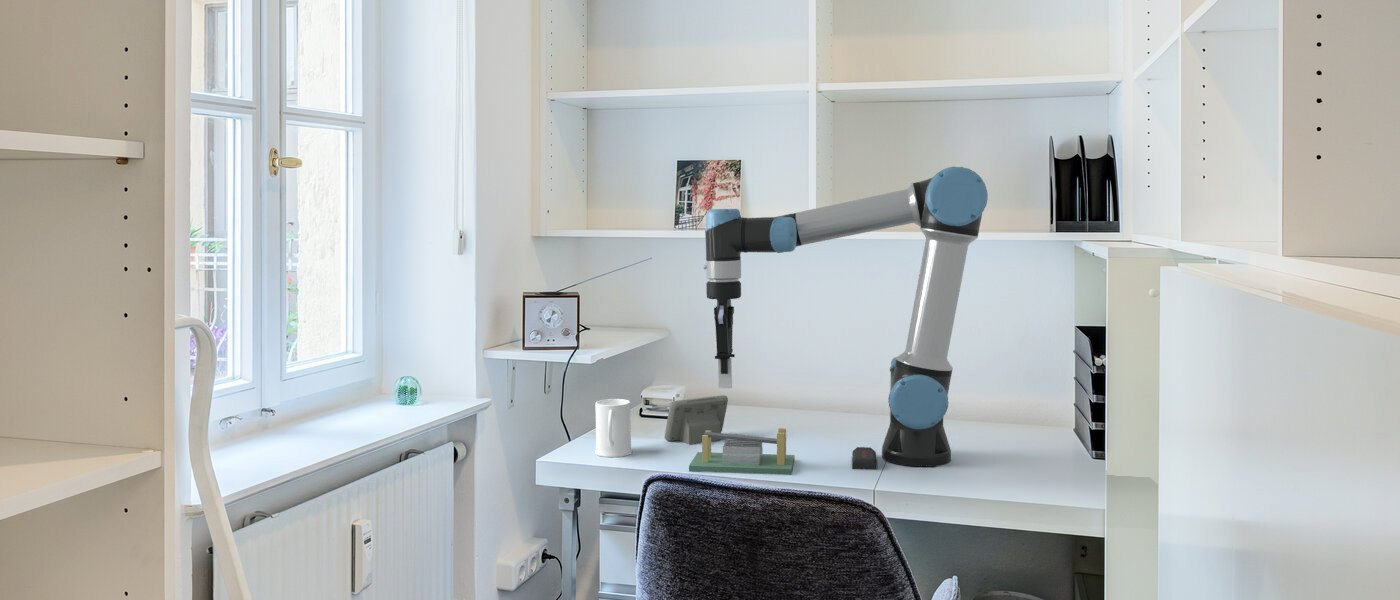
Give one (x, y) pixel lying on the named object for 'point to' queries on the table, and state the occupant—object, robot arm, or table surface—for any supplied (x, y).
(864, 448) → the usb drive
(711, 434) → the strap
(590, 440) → the table surface
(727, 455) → the heatsink
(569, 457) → the table surface
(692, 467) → the board
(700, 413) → the digital clock
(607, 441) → the mug
